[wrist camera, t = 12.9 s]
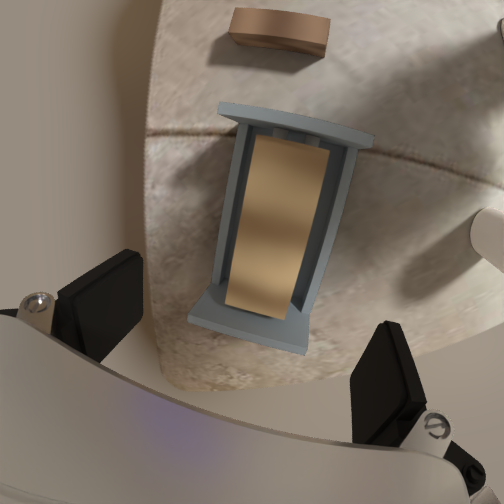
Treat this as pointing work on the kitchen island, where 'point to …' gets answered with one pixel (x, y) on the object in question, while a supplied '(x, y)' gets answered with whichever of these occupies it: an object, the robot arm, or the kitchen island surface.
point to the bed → (320, 238)
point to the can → (489, 236)
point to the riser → (280, 30)
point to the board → (275, 224)
